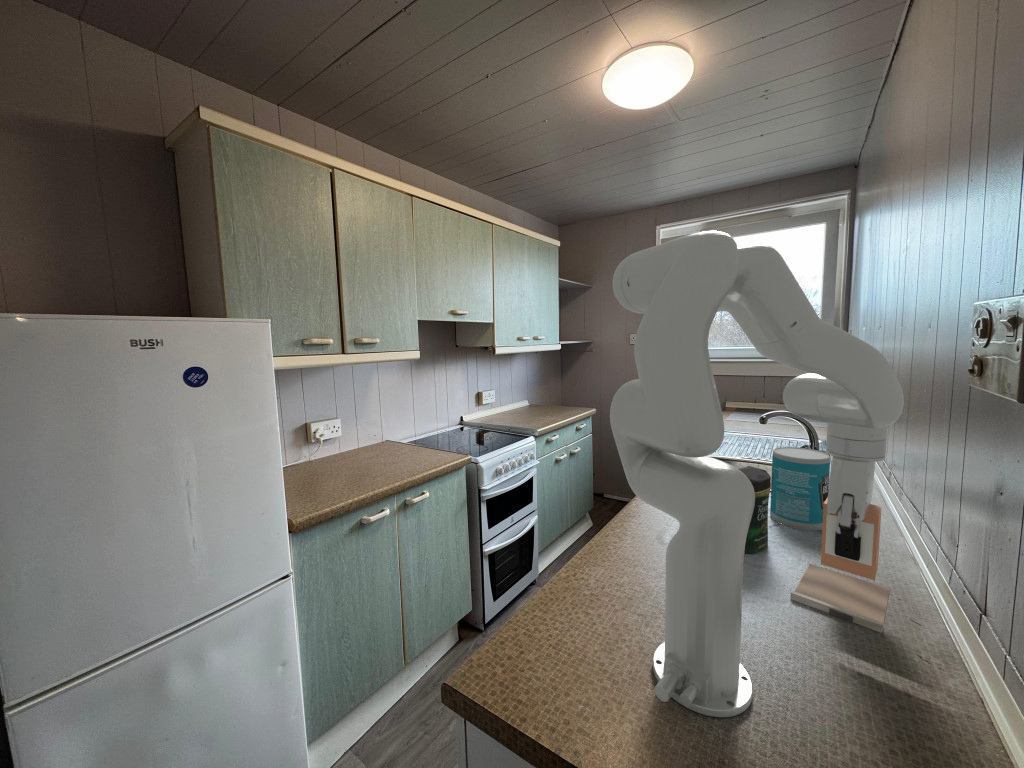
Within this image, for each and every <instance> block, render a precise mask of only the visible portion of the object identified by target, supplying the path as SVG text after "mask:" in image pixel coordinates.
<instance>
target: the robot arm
mask: <svg viewBox="0 0 1024 768" xmlns="http://www.w3.org/2000/svg"><path fill="white" fill-rule="evenodd" d="M613 272H614V273H613V276H612V290H613V294H614V297H615V299H616V300H617V301H618V303H619V304H620V305H621V306H622V307H623V308H624V309H625V310H627V311H629V312H631V313H635V314H640V315H642V314H643V316H642V318H641V321H640V323H639V326H638V328H637V332H636V335H635V339H634V344H633V345H634V347H633V352H634V354H633V355H634V361H635V367H636V370H637V375H638V379H636V378H635V379H632V380H630V381H629V380H628V381H627V382H625V383H623V384H622V385H621V386H620V387H619V388H618V390H617V391H616V392H615V393H614V396H613V397H612V400H611V404H610V407H609V409H610V410H609V422H610V427H611V431H612V435H613V439H614V442H615V446H616V448H617V452H618V455H619V458H620V462H621V465H622V467H623V471H624V474H625V477H626V481H627V483H628V486H629V487H630V488H631V491H632V492H633V493H634V494H635V496H636V497H637V498H638V499H640V500H641V501H642V502H644V503H645V504H648V505H649V506H651V507H652V508H656V509H657V510H659V511H661V512H662V513H665V514H667V515H669V516H670V517H672V518H674V519H675V520H677V522H678V524H679V527H678V530H677V531H676V533H675V534H674V535H673V537H672V538H671V539H670V540H669V542H668V544H667V547H666V552H665V579H664V580H665V586H664V591H665V592H664V593H665V594H664V599H665V600H664V641H663V642H662V643H661V644H659V646H658V647H657V648H655V650H654V653H653V656H652V657H653V658H652V669H653V674H654V677H655V678H656V679H655V680H656V681H657V683H656V685H655V686H654V693H655V696H656V697H657V698H658V700H660V701H661V702H664V703H667V702H669V700H670V699H671V698H672V699H673V700H674V701H676V702H677V703H679V704H680V705H682V706H684V707H685V708H687V709H688V710H691V711H694V712H696V713H698V714H701V715H704V716H708V717H714V718H730V717H735V716H738V715H741V714H742V713H744V712H745V711H746V710H747V709H749V707H750V706H751V703H752V700H753V684H752V680H751V677H750V675H749V673H748V672H747V670H746V669H745V668H744V666H743V665H742V664H741V641H742V616H743V614H742V613H743V612H742V611H743V609H742V608H743V589H744V588H743V585H744V583H743V578H744V559H745V558H744V557H745V554H744V550H745V543H746V537H747V533H748V528H749V525H750V521H751V518H752V514H753V510H754V506H755V492H754V488H753V485H752V484H751V482H750V480H749V479H748V477H747V476H746V475H745V474H744V473H743V472H741V471H740V470H739V469H740V468H738V467H736V466H734V465H732V464H730V463H728V462H725V461H723V460H720V459H719V458H718V459H717V458H714V457H711V456H710V455H712V454H714V453H716V451H718V449H719V448H721V445H722V444H723V441H724V437H725V422H724V415H723V411H722V406H721V402H720V398H719V393H718V389H717V384H716V381H715V376H714V372H713V368H712V362H711V357H710V352H709V338H710V337H709V335H710V331H711V327H712V324H713V321H714V319H715V318H716V317H715V316H716V315H717V313H718V312H726V313H728V314H730V315H731V317H732V318H733V319H734V320H735V322H736V323H737V325H738V326H739V327H740V329H742V331H743V332H744V334H745V335H746V336H747V338H748V339H749V341H750V342H751V344H752V345H753V347H754V348H755V350H756V351H757V352H758V353H759V354H760V355H761V356H763V358H766V359H768V360H771V361H773V362H776V363H779V364H782V365H784V366H787V367H790V368H793V369H797V370H800V371H803V372H807V373H804V374H800V375H797V376H796V377H794V378H792V379H791V380H789V382H788V383H786V386H784V389H783V393H782V400H783V404H784V406H785V407H786V409H787V410H788V411H789V412H790V413H791V414H793V415H795V416H796V417H799V418H803V419H804V420H805V419H806V420H812V421H816V422H817V421H819V422H826V423H827V424H826V442H825V443H826V444H825V445H826V446H825V453H826V454H828V455H829V456H832V460H831V462H830V473H829V491H828V502H827V512H828V514H830V515H832V514H835V513H836V512H837V510H838V521H837V531H836V533H835V554H836V555H837V556H841V557H844V558H848V559H851V560H855V561H859V559H860V548H861V537H859V528H860V521H863V520H865V518H866V515H867V512H868V509H869V507H870V504H871V502H872V498H873V493H874V492H873V491H874V481H875V469H876V462H883V461H885V460H886V454H887V451H886V450H887V436H888V435H887V434H888V427H890V426H891V425H893V424H895V423H896V422H897V421H898V420H899V418H900V417H901V415H902V413H903V411H904V406H905V397H904V392H903V389H902V386H901V383H900V381H899V379H898V377H897V375H896V373H895V372H894V370H893V368H892V366H891V364H890V363H889V361H888V359H887V358H886V357H885V356H884V355H883V354H882V353H881V352H880V351H879V350H878V349H877V348H875V347H874V346H873V345H870V344H869V343H867V342H866V341H865V340H863V339H860V338H858V337H857V336H855V335H853V334H851V333H849V332H848V331H847V330H844V329H842V328H840V327H837V326H835V325H834V324H831V323H829V322H826V321H825V320H823V319H821V317H819V315H818V314H817V311H816V310H815V308H814V307H813V305H812V304H811V302H810V300H809V299H808V297H807V295H806V294H805V292H804V291H803V289H802V287H801V286H800V283H799V282H798V281H797V279H796V277H795V276H794V274H793V272H792V270H791V269H790V267H789V266H788V263H786V260H785V259H784V257H783V256H782V255H781V254H780V253H779V251H778V250H777V249H775V248H774V247H772V246H770V245H768V244H761V243H752V244H745V245H741V246H738V245H737V242H736V241H735V239H734V238H733V237H732V236H731V235H730V234H729V233H726V232H723V231H719V230H718V231H717V230H707V231H706V230H705V231H704V230H703V231H700V232H696V233H691V234H690V233H689V234H687V235H683V236H680V237H677V238H675V239H671V240H668V241H665V242H663V243H660V244H657V245H654V246H651V247H648V248H646V249H642V250H639V251H635V252H634V253H631V254H629V255H628V256H626V257H625V258H624V259H622V261H621V262H620V263H619V264H618V265H617V266H616V268H615V271H613ZM852 514H857V518H856V517H852ZM851 521H854V522H855V527H854V524H852V522H851ZM854 528H855V529H854Z"/></svg>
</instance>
